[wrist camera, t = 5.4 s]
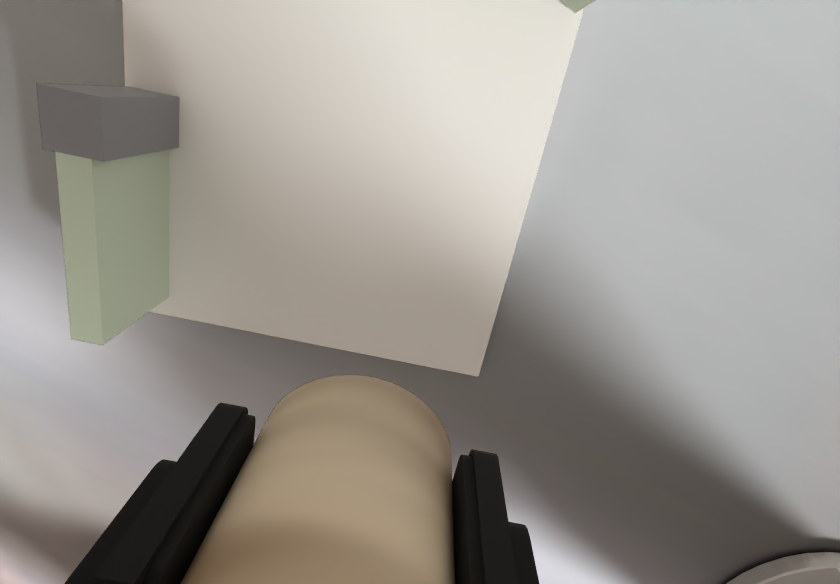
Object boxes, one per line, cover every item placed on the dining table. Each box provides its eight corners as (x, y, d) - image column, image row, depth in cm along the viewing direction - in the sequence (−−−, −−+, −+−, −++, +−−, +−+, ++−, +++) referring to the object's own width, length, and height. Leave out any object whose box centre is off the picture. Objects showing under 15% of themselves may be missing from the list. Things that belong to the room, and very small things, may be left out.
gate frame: (477, 370, 24) (486, 441, 19) (139, 303, 24) (57, 358, 19) (700, -412, 14) (841, -692, 9) (118, -560, 14) (-73, -944, 9)
